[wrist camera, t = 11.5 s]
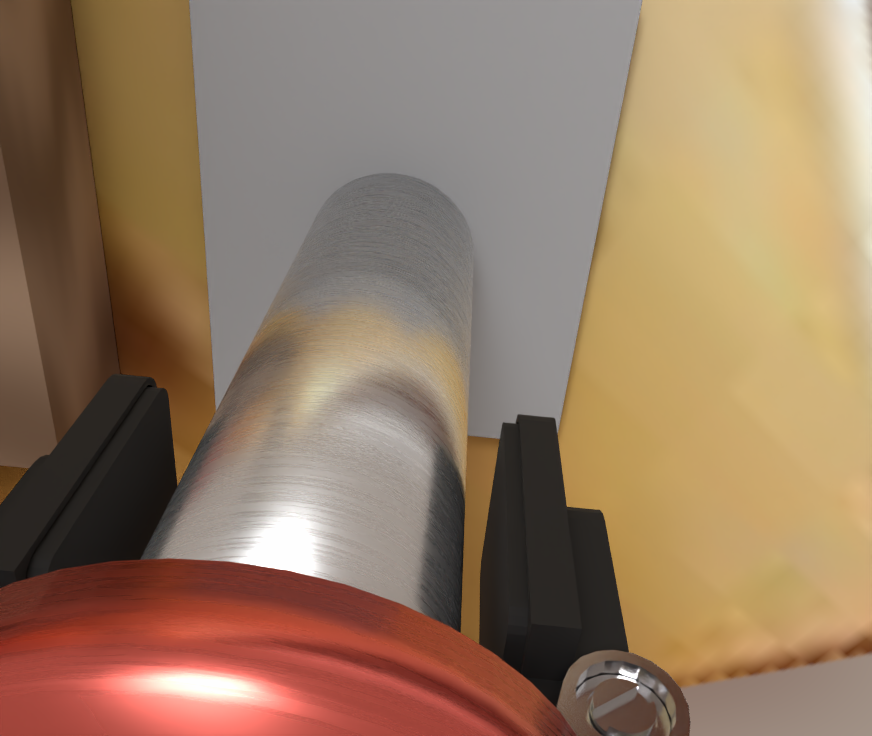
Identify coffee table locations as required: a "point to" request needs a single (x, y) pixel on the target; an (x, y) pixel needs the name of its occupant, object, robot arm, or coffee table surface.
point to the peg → (300, 524)
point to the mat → (416, 157)
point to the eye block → (47, 237)
